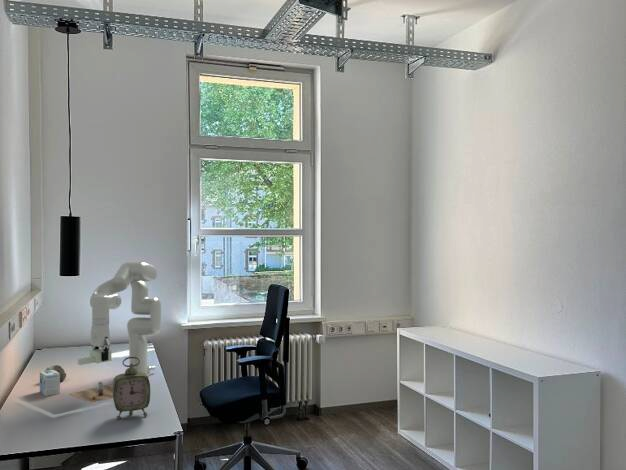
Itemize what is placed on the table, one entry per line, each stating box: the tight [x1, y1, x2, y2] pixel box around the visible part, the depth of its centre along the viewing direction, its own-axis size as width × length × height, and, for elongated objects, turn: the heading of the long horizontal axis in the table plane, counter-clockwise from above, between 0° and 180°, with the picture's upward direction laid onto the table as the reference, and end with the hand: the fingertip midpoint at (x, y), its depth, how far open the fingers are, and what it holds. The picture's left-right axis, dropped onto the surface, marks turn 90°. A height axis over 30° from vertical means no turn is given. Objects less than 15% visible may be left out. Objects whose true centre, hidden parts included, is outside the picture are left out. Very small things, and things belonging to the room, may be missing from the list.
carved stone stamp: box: [45, 364, 67, 383], centre depth 296 cm, size 11×9×10 cm
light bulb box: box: [39, 370, 61, 397], centre depth 270 cm, size 11×7×11 cm, turn 40°
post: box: [98, 381, 104, 396], centre depth 265 cm, size 2×2×6 cm
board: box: [68, 384, 113, 403], centre depth 268 cm, size 22×22×1 cm
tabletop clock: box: [112, 356, 151, 421], centre depth 237 cm, size 14×9×25 cm, turn 114°
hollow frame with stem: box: [77, 347, 112, 366], centre depth 262 cm, size 14×7×5 cm, turn 139°
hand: (100, 359), depth 265 cm, fingers closed on hollow frame with stem, 7 cm apart
